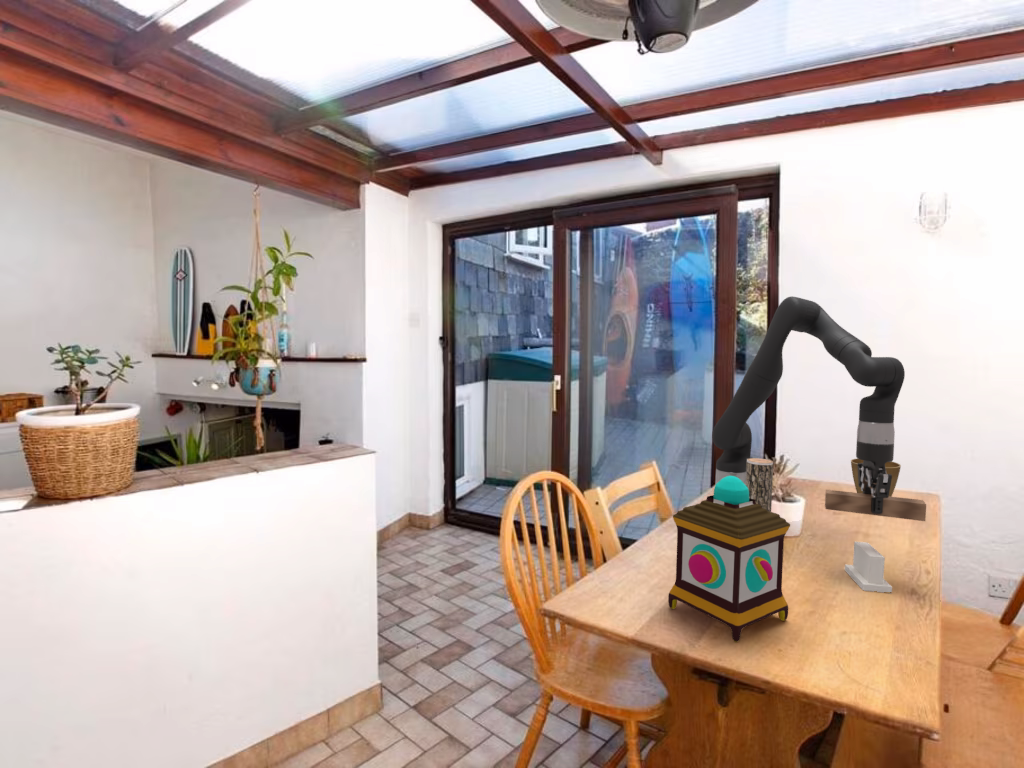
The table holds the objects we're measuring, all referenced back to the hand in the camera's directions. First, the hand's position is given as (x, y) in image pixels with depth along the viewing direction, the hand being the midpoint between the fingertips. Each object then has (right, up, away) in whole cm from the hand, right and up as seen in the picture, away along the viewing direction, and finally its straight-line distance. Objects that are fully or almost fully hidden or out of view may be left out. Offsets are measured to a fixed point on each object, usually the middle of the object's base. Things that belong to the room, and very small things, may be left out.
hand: (871, 509), depth 134 cm
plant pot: (+42, -14, +64) cm, 78 cm away
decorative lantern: (-41, -19, -16) cm, 48 cm away
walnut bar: (0, -1, 0) cm, 1 cm away
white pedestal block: (0, -18, +1) cm, 18 cm away
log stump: (-18, -16, +23) cm, 33 cm away
